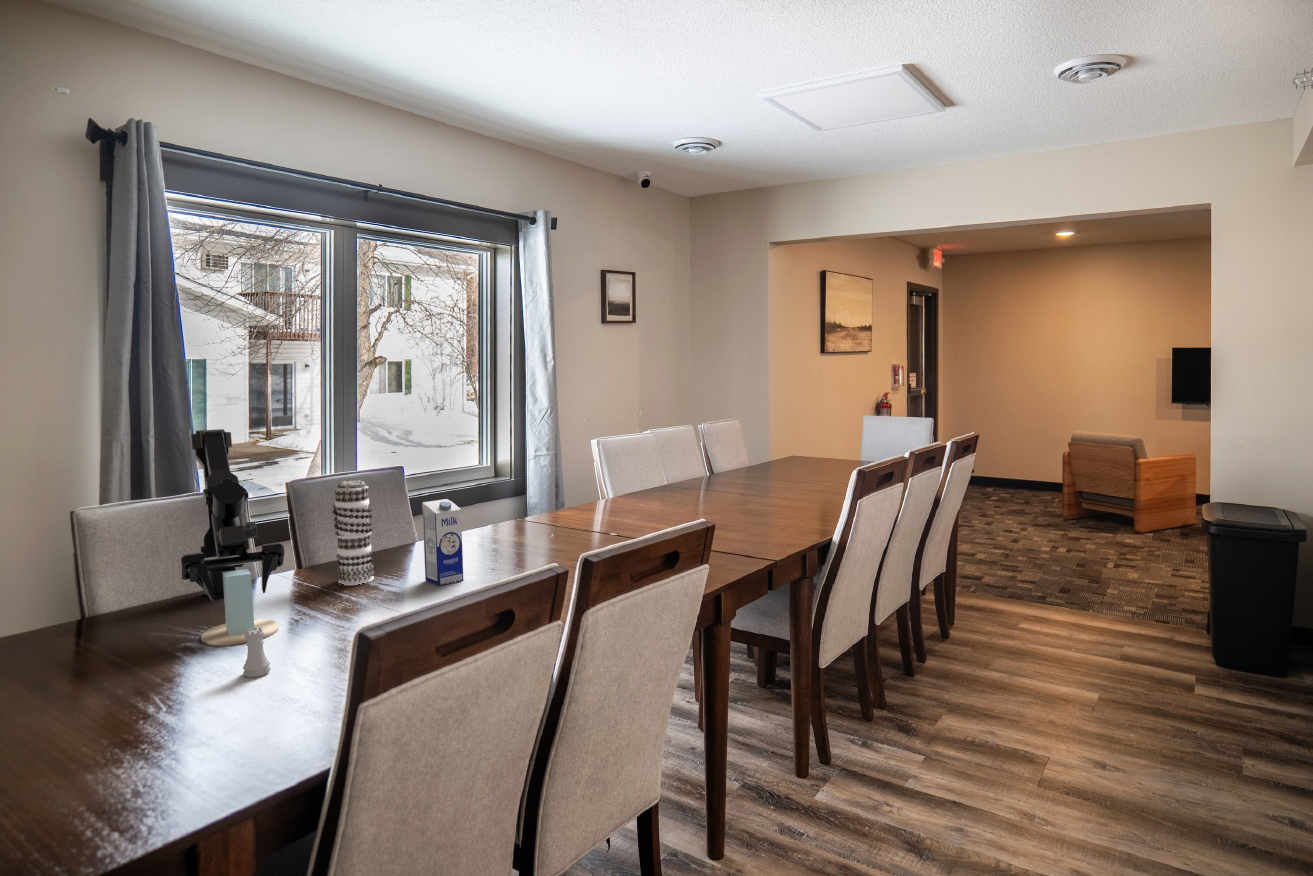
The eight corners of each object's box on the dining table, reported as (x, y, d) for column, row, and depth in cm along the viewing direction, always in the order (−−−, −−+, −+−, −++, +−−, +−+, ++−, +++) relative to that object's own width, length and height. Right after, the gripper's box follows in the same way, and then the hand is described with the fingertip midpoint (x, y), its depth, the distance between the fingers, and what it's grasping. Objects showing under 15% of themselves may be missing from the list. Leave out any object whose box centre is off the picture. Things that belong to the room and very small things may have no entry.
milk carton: (450, 575, 207) (447, 497, 205) (464, 580, 202) (461, 501, 200) (424, 581, 202) (421, 501, 200) (438, 586, 197) (435, 505, 195)
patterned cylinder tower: (327, 583, 200) (322, 483, 198) (354, 574, 209) (350, 478, 206) (357, 587, 197) (352, 485, 194) (383, 577, 205) (378, 479, 203)
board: (186, 638, 162) (185, 635, 162) (250, 618, 174) (250, 615, 174) (230, 650, 155) (230, 647, 155) (293, 628, 168) (293, 625, 168)
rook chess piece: (249, 669, 146) (246, 626, 145) (274, 668, 146) (272, 625, 146) (238, 679, 142) (235, 634, 141) (265, 678, 142) (262, 633, 141)
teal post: (226, 629, 165) (222, 572, 164) (251, 625, 168) (247, 568, 167) (229, 636, 162) (225, 577, 160) (254, 631, 164) (250, 573, 163)
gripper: (177, 515, 160) (185, 582, 152) (280, 504, 171) (292, 567, 163) (178, 546, 168) (185, 612, 160) (276, 534, 178) (288, 595, 170)
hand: (239, 596), depth 163 cm, fingers open, 9 cm apart
